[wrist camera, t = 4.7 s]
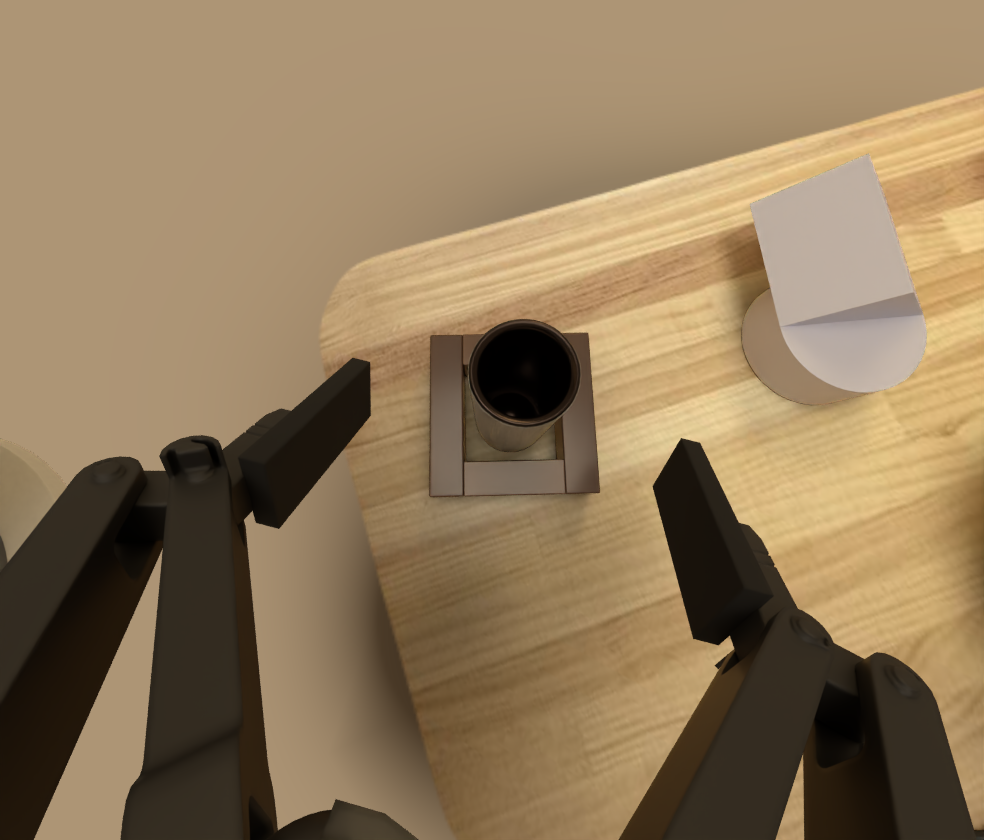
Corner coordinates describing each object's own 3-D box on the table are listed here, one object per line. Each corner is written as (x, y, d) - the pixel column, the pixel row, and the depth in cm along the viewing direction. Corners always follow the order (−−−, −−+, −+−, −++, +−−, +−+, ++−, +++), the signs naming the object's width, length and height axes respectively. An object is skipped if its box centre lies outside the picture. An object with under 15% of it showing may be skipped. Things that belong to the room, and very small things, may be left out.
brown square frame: (435, 496, 24) (429, 497, 22) (435, 349, 26) (430, 334, 23) (589, 492, 24) (600, 493, 22) (579, 346, 26) (588, 331, 23)
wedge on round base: (718, 238, 28) (757, 410, 25) (790, 158, 21) (852, 382, 19) (837, 228, 28) (886, 398, 25) (946, 147, 21) (1026, 367, 19)
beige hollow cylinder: (468, 395, 25) (455, 332, 15) (533, 378, 26) (563, 306, 15) (485, 460, 24) (483, 440, 14) (552, 442, 25) (596, 410, 15)
